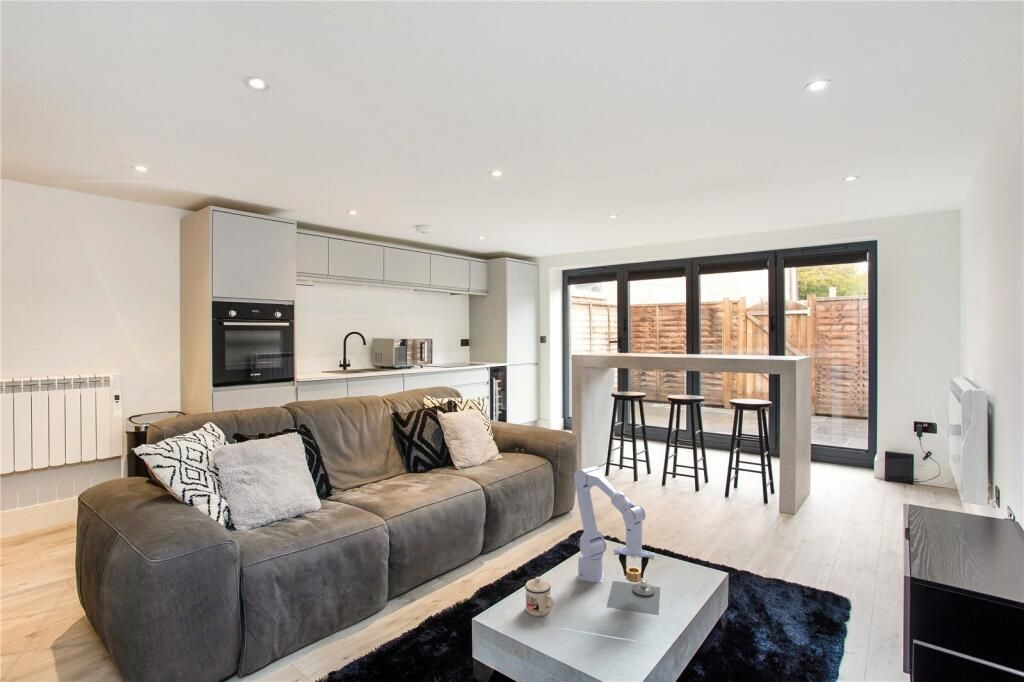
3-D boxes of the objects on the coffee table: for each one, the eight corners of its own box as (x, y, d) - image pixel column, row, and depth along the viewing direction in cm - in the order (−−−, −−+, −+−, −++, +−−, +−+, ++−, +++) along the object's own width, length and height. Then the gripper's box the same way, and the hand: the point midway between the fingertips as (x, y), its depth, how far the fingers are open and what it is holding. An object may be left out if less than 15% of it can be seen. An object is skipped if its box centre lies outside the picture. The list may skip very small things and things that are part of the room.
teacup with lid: (520, 609, 188) (519, 577, 187) (538, 600, 194) (537, 569, 193) (544, 623, 179) (543, 589, 178) (562, 613, 185) (562, 581, 184)
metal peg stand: (631, 595, 196) (631, 584, 196) (633, 584, 204) (633, 574, 204) (653, 598, 194) (653, 587, 194) (654, 587, 201) (654, 577, 201)
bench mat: (606, 607, 188) (606, 606, 188) (613, 581, 207) (613, 580, 207) (658, 616, 183) (658, 614, 183) (660, 588, 202) (660, 587, 202)
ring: (625, 581, 192) (625, 572, 192) (627, 574, 197) (627, 566, 197) (640, 583, 190) (640, 574, 190) (641, 576, 195) (641, 568, 195)
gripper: (612, 541, 192) (612, 577, 192) (653, 546, 187) (653, 583, 187) (615, 533, 198) (614, 569, 199) (654, 538, 194) (654, 574, 194)
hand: (633, 575), depth 194 cm, fingers closed on ring, 5 cm apart
